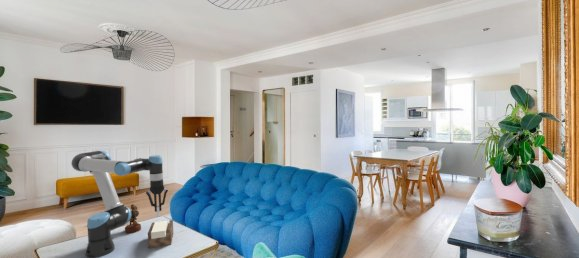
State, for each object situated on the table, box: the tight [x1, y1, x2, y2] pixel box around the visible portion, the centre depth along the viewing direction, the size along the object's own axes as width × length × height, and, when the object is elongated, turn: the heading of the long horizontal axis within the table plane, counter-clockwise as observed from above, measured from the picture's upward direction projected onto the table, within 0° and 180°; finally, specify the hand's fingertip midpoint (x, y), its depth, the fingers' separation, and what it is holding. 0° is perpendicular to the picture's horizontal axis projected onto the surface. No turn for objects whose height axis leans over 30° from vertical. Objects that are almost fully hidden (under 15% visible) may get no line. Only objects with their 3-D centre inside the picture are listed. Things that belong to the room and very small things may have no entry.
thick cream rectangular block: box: [151, 220, 169, 239], centre depth 182 cm, size 8×18×4 cm, turn 19°
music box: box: [124, 203, 142, 234], centre depth 205 cm, size 15×11×20 cm
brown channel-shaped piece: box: [147, 219, 174, 249], centre depth 188 cm, size 14×18×10 cm
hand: (158, 216), depth 177 cm, fingers closed
